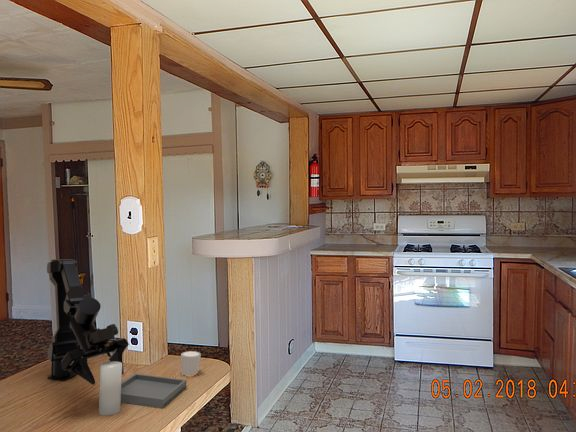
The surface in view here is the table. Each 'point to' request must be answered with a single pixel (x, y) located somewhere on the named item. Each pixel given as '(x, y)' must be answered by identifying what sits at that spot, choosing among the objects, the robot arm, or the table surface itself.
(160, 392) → the tray
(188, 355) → the shot glass
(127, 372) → the table surface
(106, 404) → the candle
